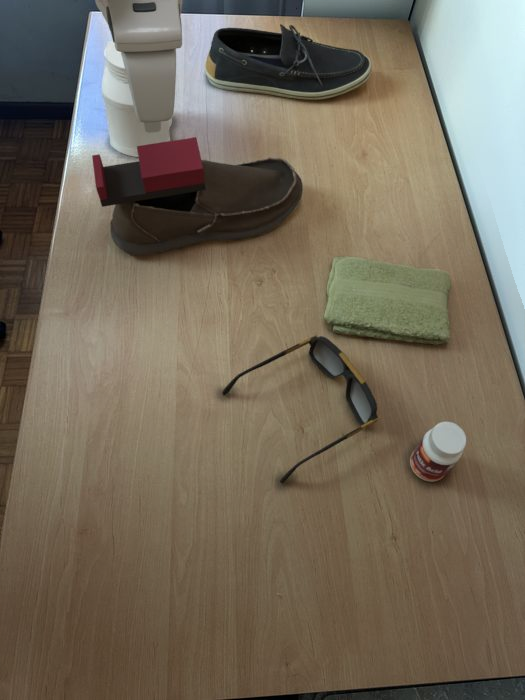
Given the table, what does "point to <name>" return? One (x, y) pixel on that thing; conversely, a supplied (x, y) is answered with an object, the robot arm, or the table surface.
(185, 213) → the loafer
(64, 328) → the table surface
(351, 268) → the washcloth
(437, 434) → the pill bottle
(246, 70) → the boat shoe
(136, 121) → the jar
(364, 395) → the sunglasses
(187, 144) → the red and black block
